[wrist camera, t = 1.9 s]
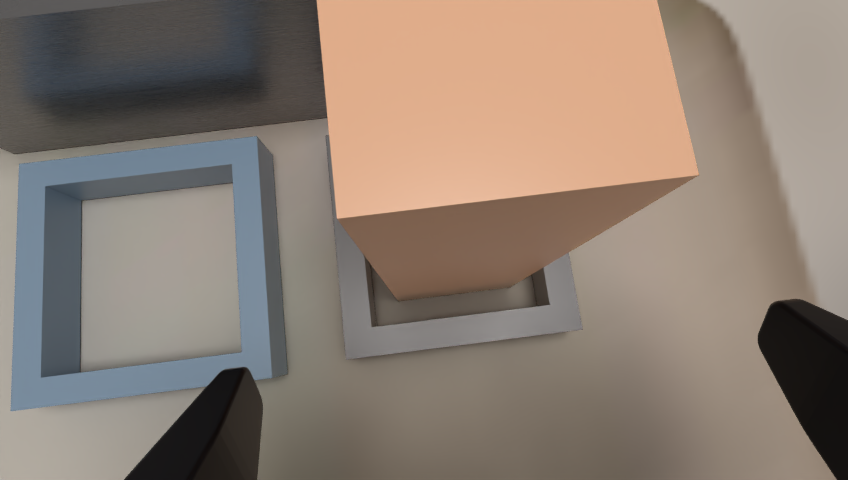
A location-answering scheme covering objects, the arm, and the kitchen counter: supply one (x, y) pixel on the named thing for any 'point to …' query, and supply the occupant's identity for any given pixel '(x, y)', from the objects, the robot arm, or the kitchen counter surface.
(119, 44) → the panel
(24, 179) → the slate-blue socket
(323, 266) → the kitchen counter surface
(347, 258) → the grey square frame
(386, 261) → the plug
